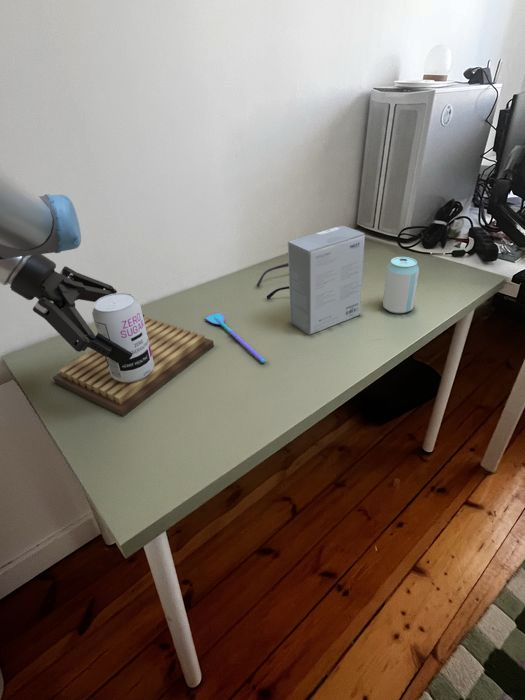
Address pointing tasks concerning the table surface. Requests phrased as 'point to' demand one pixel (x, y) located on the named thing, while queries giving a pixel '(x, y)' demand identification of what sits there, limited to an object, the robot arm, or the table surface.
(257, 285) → the sunglasses
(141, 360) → the supplement can
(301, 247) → the hard drive box
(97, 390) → the scrub board
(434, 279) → the table surface
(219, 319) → the spoon
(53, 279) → the robot arm
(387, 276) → the can
